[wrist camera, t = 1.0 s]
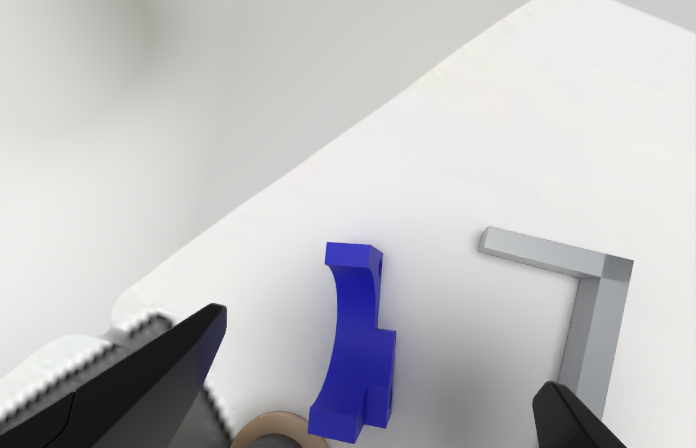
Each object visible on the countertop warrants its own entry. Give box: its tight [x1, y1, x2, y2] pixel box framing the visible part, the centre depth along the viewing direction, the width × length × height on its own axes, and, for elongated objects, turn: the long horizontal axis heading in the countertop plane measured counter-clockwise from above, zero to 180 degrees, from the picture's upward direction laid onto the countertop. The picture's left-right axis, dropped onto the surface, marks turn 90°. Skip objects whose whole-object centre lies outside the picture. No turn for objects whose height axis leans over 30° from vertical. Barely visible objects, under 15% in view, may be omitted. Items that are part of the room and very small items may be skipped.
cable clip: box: [307, 242, 396, 444], centre depth 24 cm, size 12×4×6 cm, turn 175°
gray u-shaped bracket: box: [478, 226, 634, 421], centre depth 22 cm, size 19×8×3 cm, turn 163°
